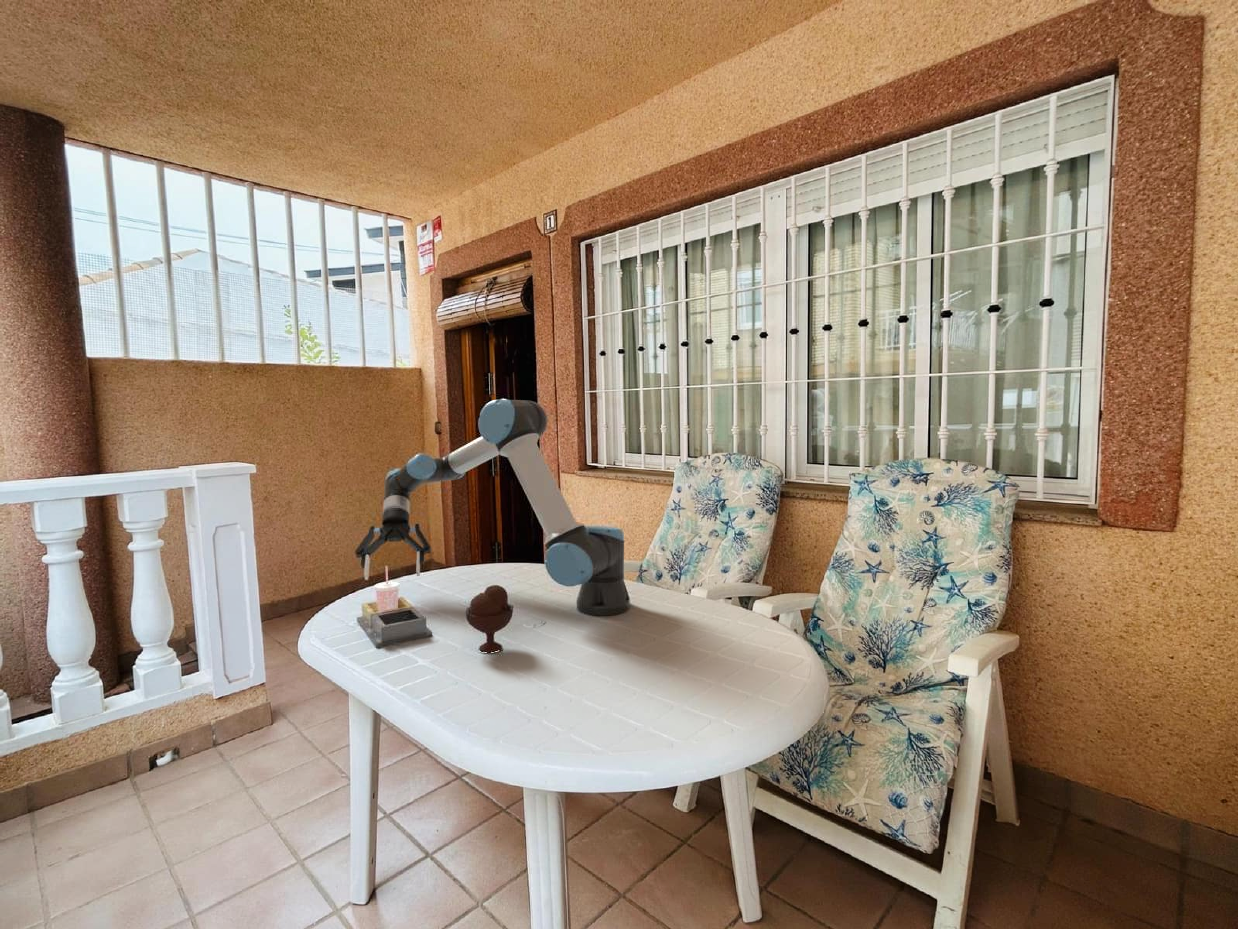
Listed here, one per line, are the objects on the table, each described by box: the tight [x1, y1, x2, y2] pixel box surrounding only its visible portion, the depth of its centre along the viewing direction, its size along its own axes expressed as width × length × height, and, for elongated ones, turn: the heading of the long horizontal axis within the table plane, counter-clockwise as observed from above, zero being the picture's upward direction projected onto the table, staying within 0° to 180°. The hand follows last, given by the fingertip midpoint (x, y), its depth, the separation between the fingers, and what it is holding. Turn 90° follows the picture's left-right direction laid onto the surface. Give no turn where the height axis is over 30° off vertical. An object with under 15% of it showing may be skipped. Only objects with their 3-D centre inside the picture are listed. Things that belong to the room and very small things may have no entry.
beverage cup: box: [374, 565, 400, 612], centre depth 151 cm, size 6×6×14 cm
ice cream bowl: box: [464, 584, 514, 653], centre depth 134 cm, size 11×11×15 cm
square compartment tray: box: [356, 596, 433, 649], centre depth 147 cm, size 22×13×4 cm, turn 35°
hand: (392, 575), depth 162 cm, fingers open, 13 cm apart
